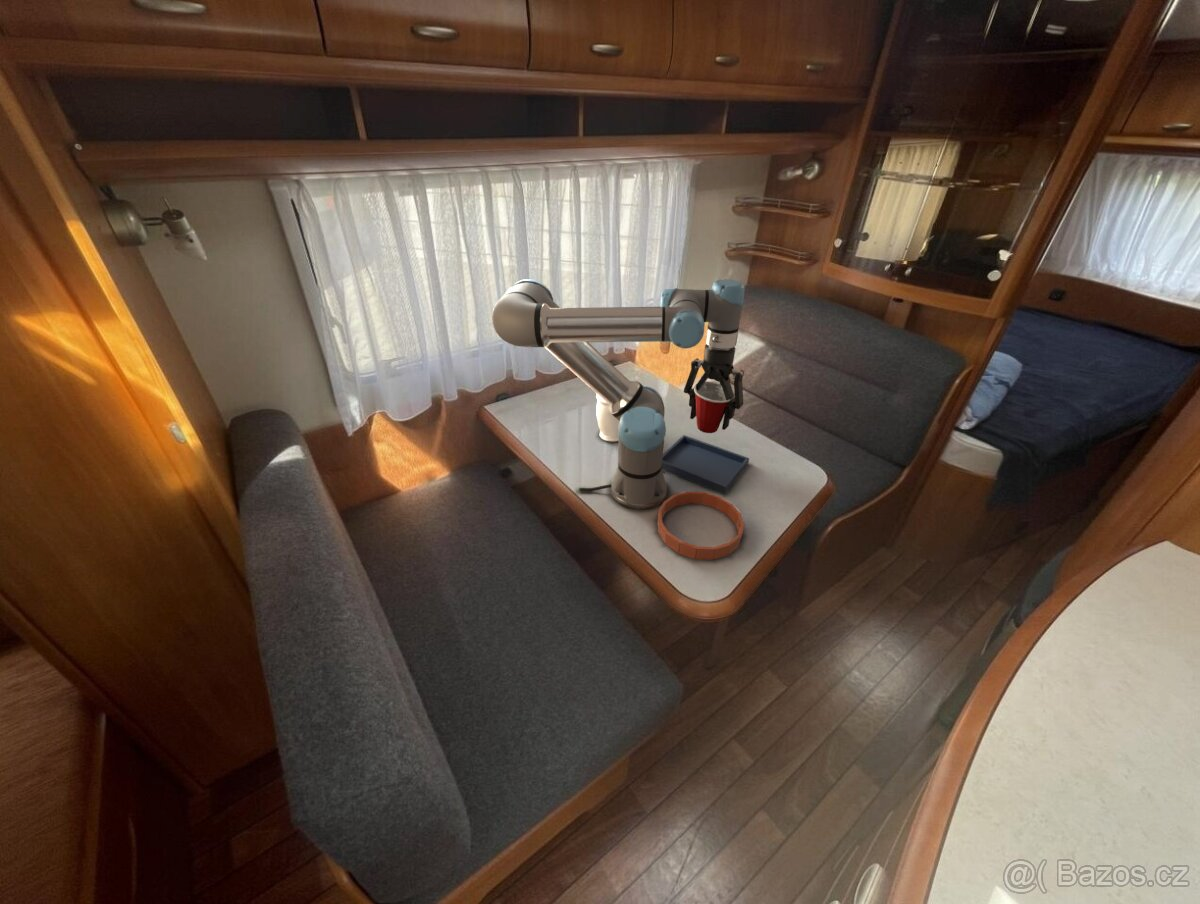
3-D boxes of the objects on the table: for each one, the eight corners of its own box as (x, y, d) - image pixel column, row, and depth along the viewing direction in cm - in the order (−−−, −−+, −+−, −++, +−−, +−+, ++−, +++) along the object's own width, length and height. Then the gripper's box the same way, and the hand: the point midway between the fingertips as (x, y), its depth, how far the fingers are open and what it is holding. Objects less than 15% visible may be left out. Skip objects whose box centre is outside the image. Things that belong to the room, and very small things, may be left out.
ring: (659, 557, 112) (660, 547, 110) (656, 500, 129) (656, 490, 127) (748, 561, 111) (751, 550, 109) (733, 502, 128) (735, 492, 126)
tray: (656, 466, 141) (656, 459, 140) (682, 441, 152) (683, 434, 151) (724, 494, 131) (725, 487, 129) (747, 465, 142) (749, 458, 140)
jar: (614, 423, 161) (615, 383, 153) (635, 436, 155) (637, 395, 146) (590, 434, 156) (589, 393, 147) (610, 447, 149) (611, 406, 141)
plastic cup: (728, 440, 129) (736, 401, 122) (687, 436, 130) (693, 397, 123) (727, 420, 137) (734, 382, 130) (689, 416, 139) (694, 378, 132)
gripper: (675, 340, 122) (668, 416, 135) (756, 360, 112) (740, 440, 125) (688, 331, 127) (680, 405, 140) (768, 350, 117) (751, 428, 130)
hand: (709, 422), depth 133 cm, fingers closed on plastic cup, 9 cm apart
